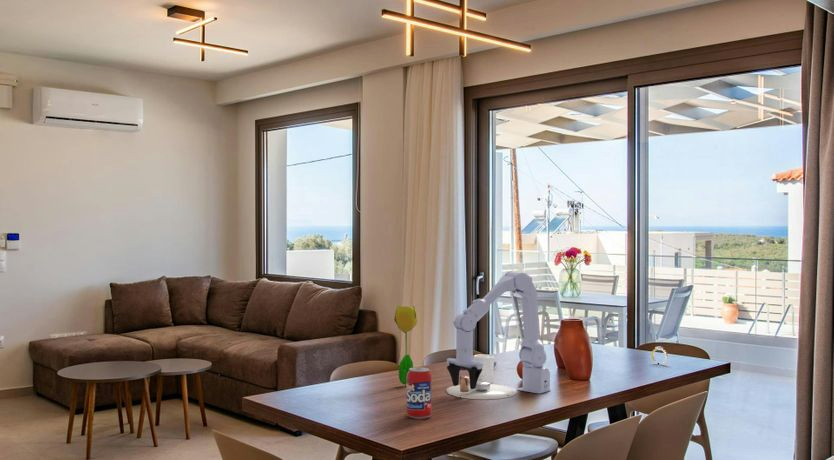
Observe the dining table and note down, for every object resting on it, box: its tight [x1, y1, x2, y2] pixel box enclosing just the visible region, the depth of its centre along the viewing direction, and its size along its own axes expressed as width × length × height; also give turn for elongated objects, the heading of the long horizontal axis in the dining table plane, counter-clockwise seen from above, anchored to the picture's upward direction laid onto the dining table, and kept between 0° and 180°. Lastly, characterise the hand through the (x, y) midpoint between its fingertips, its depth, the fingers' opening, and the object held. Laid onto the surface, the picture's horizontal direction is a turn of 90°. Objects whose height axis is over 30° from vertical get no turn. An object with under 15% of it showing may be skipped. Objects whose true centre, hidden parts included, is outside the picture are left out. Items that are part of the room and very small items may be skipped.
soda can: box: [406, 366, 433, 420], centre depth 237 cm, size 8×8×15 cm
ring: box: [650, 345, 669, 364], centre depth 333 cm, size 7×3×8 cm, turn 43°
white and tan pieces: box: [459, 375, 491, 393], centre depth 271 cm, size 15×6×6 cm, turn 138°
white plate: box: [446, 383, 517, 401], centre depth 274 cm, size 25×25×1 cm
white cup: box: [473, 353, 495, 384], centre depth 292 cm, size 8×8×10 cm
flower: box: [393, 305, 418, 387], centre depth 284 cm, size 9×8×30 cm
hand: (464, 387), depth 267 cm, fingers open, 7 cm apart
